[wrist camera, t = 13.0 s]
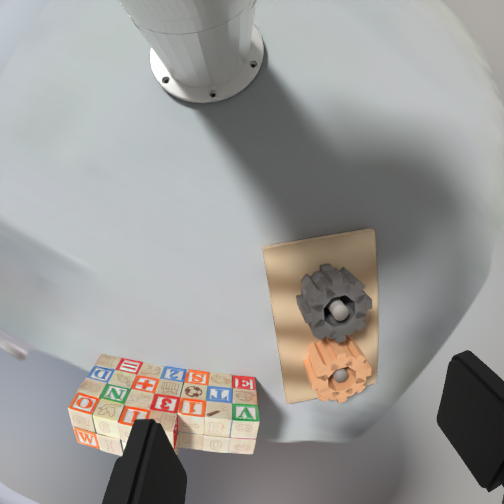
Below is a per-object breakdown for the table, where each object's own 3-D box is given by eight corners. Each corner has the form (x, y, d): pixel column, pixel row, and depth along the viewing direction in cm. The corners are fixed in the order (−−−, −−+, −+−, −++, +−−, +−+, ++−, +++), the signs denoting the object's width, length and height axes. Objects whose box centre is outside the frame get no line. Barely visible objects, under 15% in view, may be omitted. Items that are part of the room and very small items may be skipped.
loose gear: (300, 339, 38) (309, 361, 33) (357, 326, 38) (372, 346, 33) (305, 384, 40) (313, 408, 35) (357, 372, 40) (370, 394, 35)
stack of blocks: (256, 375, 41) (263, 441, 29) (249, 408, 42) (254, 473, 30) (101, 352, 39) (65, 408, 27) (105, 387, 40) (76, 444, 28)
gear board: (262, 246, 36) (268, 263, 29) (369, 228, 36) (396, 240, 30) (285, 397, 42) (293, 431, 35) (372, 377, 42) (390, 406, 35)
